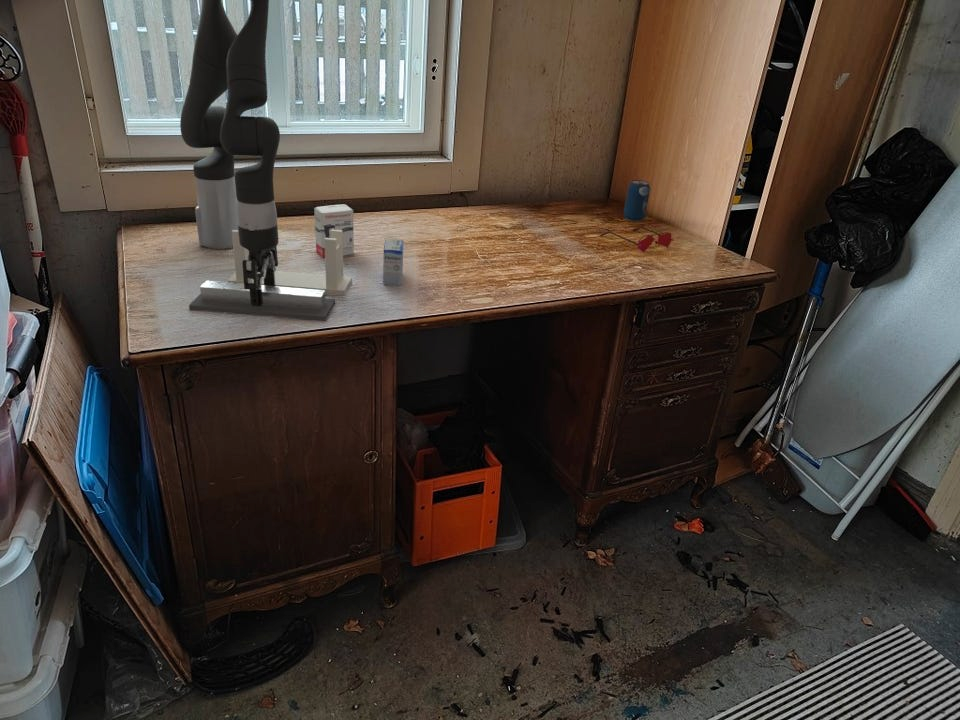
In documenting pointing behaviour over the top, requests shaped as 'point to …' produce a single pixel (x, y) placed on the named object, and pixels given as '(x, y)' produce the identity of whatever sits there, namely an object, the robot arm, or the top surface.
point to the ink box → (334, 226)
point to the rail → (264, 295)
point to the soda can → (636, 200)
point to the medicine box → (393, 262)
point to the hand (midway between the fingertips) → (263, 297)
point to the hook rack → (329, 282)
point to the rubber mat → (263, 309)
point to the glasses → (649, 239)
